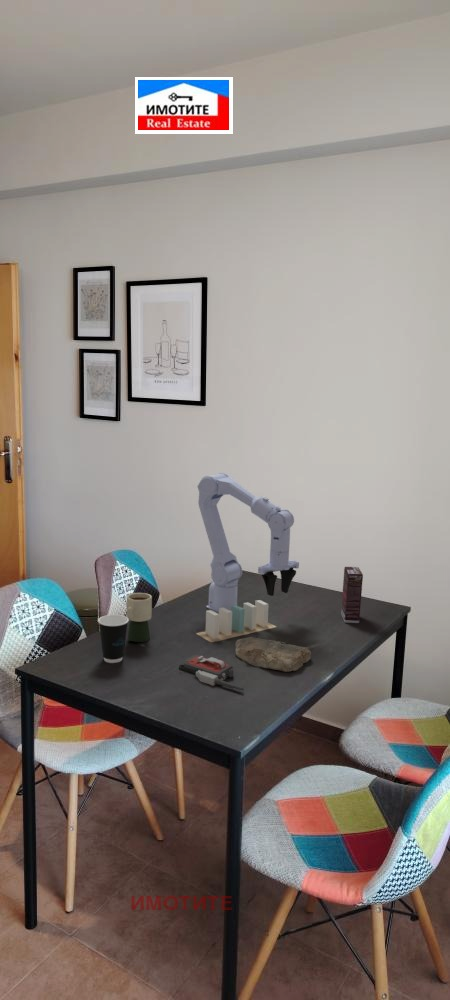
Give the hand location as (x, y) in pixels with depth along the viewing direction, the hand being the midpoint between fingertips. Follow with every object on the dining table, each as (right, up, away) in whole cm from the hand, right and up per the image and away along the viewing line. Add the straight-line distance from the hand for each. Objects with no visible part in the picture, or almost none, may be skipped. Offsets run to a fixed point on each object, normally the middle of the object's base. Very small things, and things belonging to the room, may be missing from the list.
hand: (277, 593), depth 214 cm
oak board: (-13, -10, -7) cm, 18 cm away
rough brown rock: (-4, -15, -25) cm, 30 cm away
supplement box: (+24, -9, +8) cm, 26 cm away
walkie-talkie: (-18, -17, -38) cm, 45 cm away
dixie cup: (-46, -14, -29) cm, 56 cm away
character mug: (-41, -11, -16) cm, 45 cm away
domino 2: (-16, -10, -10) cm, 21 cm away
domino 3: (-9, -9, -4) cm, 14 cm away
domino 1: (-20, -11, -12) cm, 26 cm away
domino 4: (-5, -9, -2) cm, 11 cm away
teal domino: (-13, -10, -7) cm, 17 cm away
